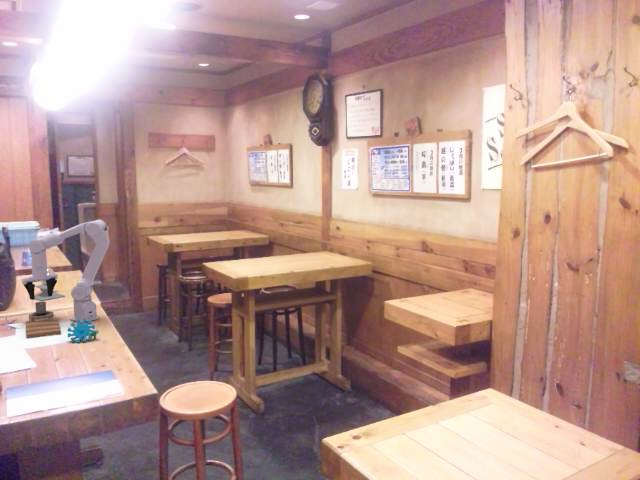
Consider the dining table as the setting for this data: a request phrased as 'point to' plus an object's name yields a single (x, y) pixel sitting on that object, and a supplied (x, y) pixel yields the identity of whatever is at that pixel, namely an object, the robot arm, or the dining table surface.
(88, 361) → the dining table surface
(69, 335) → the gear
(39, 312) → the hinge pin
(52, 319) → the brown piece
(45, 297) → the shower valve
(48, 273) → the cup with straw
